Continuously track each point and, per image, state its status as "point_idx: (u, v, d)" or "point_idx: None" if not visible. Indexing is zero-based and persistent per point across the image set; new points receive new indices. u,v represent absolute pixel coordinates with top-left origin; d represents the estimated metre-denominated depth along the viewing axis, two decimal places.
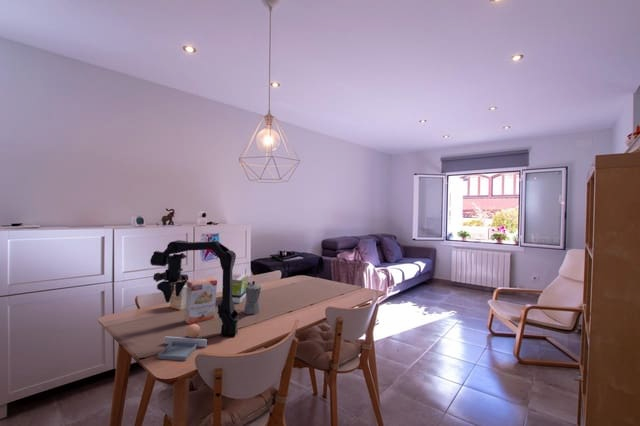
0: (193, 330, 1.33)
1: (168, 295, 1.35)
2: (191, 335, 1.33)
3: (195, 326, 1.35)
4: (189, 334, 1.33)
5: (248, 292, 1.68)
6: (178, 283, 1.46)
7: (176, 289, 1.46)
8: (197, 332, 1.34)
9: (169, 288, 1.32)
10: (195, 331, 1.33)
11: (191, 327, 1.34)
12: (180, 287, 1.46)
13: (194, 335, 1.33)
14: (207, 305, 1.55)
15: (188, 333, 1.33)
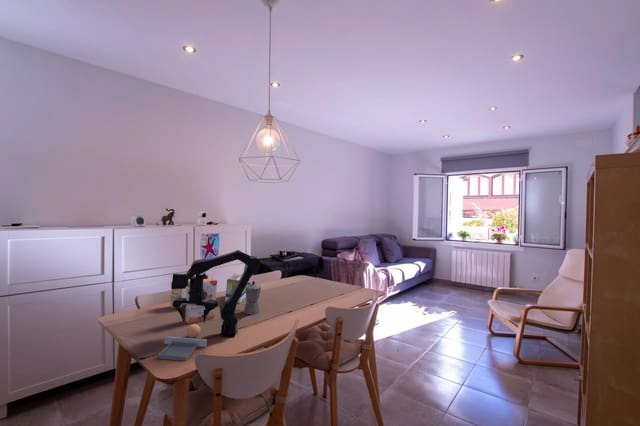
0: (193, 330, 1.33)
1: None
2: (191, 335, 1.33)
3: (195, 326, 1.35)
4: (189, 334, 1.33)
5: (248, 292, 1.68)
6: None
7: None
8: (197, 332, 1.34)
9: (172, 305, 1.33)
10: (195, 331, 1.33)
11: (191, 327, 1.34)
12: None
13: (194, 335, 1.33)
14: None
15: (188, 333, 1.33)
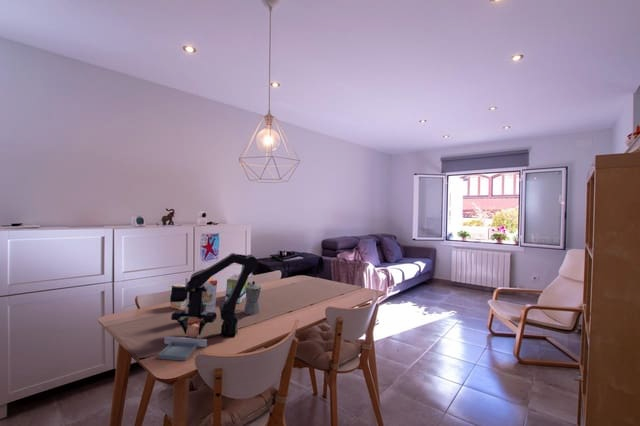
0: (193, 330, 1.33)
1: None
2: (191, 335, 1.33)
3: (195, 326, 1.35)
4: (189, 334, 1.33)
5: (248, 292, 1.68)
6: None
7: None
8: (197, 332, 1.34)
9: (171, 317, 1.33)
10: (195, 331, 1.33)
11: (191, 327, 1.34)
12: None
13: (194, 335, 1.33)
14: (207, 305, 1.55)
15: (188, 333, 1.33)
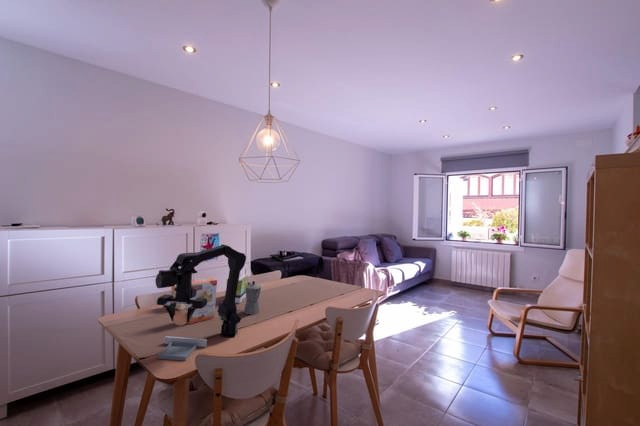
0: (180, 317, 1.20)
1: None
2: (178, 322, 1.20)
3: (183, 312, 1.22)
4: (176, 321, 1.20)
5: (248, 292, 1.68)
6: None
7: None
8: (185, 319, 1.21)
9: (157, 302, 1.20)
10: (183, 318, 1.20)
11: (178, 313, 1.21)
12: None
13: (182, 322, 1.20)
14: (207, 305, 1.55)
15: (175, 320, 1.20)
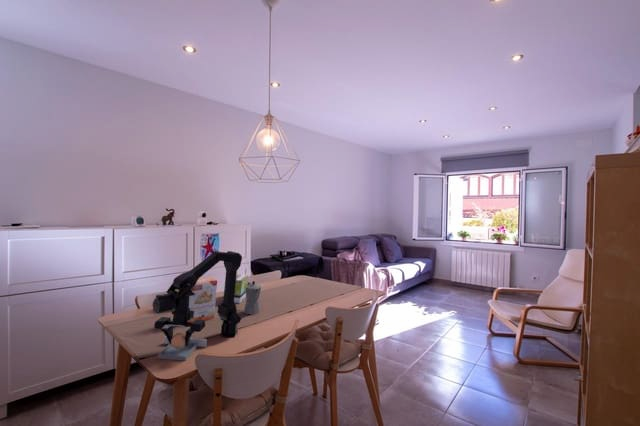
0: (178, 340, 1.19)
1: None
2: (176, 346, 1.19)
3: (181, 335, 1.21)
4: (174, 344, 1.19)
5: (248, 292, 1.68)
6: None
7: None
8: (183, 342, 1.20)
9: (154, 326, 1.19)
10: (181, 341, 1.19)
11: (176, 337, 1.20)
12: None
13: (180, 346, 1.19)
14: (207, 305, 1.55)
15: (173, 343, 1.19)
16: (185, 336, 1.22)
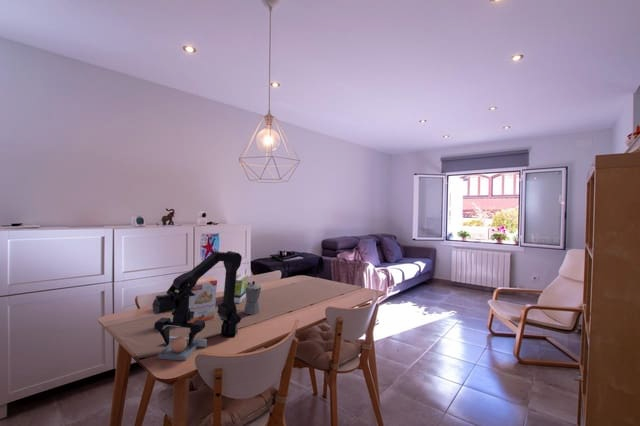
0: (178, 344, 1.19)
1: None
2: (176, 350, 1.19)
3: (181, 339, 1.21)
4: (174, 348, 1.19)
5: (248, 292, 1.68)
6: None
7: None
8: (183, 346, 1.20)
9: (154, 327, 1.19)
10: (180, 346, 1.19)
11: (176, 341, 1.20)
12: None
13: (179, 350, 1.19)
14: (207, 305, 1.55)
15: (173, 347, 1.19)
16: (185, 340, 1.22)
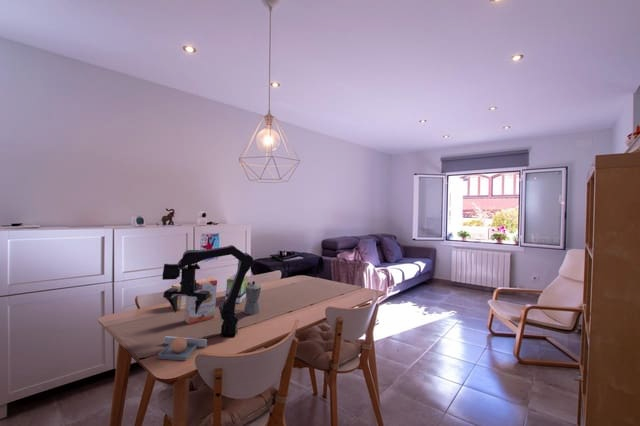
0: (178, 345, 1.19)
1: None
2: (176, 350, 1.19)
3: (181, 339, 1.21)
4: (174, 348, 1.19)
5: (248, 292, 1.68)
6: None
7: None
8: (183, 346, 1.20)
9: (163, 295, 1.30)
10: (180, 346, 1.19)
11: (176, 341, 1.20)
12: None
13: (179, 350, 1.19)
14: (207, 305, 1.55)
15: (173, 347, 1.19)
16: (185, 340, 1.22)
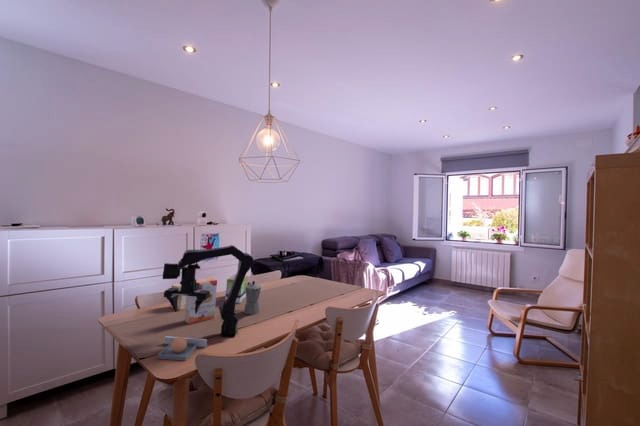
0: (178, 345, 1.19)
1: None
2: (176, 350, 1.19)
3: (181, 339, 1.21)
4: (174, 348, 1.19)
5: (248, 292, 1.68)
6: None
7: None
8: (183, 346, 1.20)
9: None
10: (181, 346, 1.19)
11: (177, 341, 1.20)
12: None
13: (180, 350, 1.19)
14: (207, 305, 1.55)
15: (173, 347, 1.19)
16: (185, 340, 1.22)
